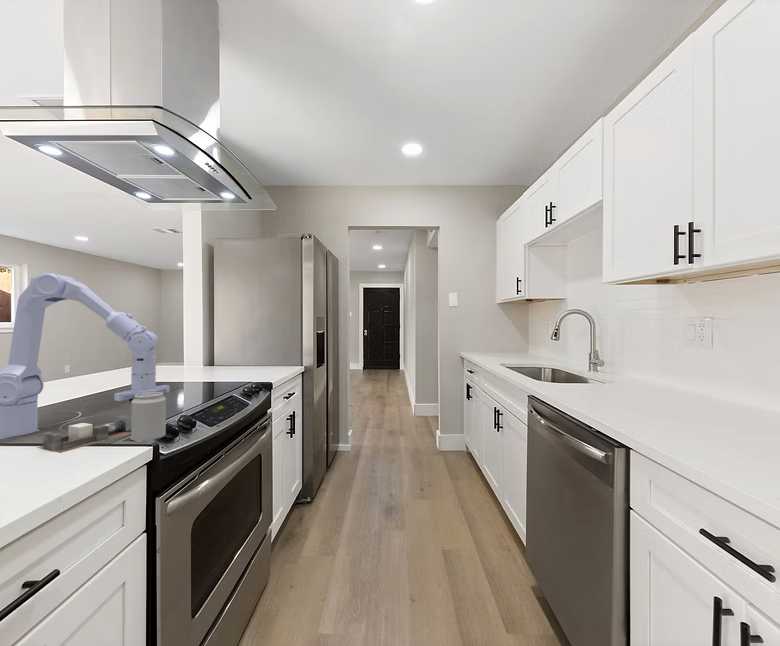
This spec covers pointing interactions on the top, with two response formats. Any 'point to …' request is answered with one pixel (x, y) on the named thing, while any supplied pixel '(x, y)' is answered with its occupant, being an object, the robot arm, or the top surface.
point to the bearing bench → (62, 444)
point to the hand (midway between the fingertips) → (143, 421)
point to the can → (148, 416)
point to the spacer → (80, 431)
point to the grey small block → (120, 424)
